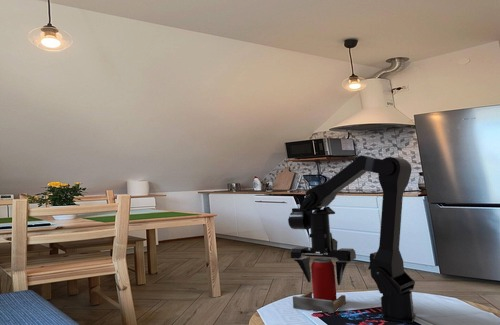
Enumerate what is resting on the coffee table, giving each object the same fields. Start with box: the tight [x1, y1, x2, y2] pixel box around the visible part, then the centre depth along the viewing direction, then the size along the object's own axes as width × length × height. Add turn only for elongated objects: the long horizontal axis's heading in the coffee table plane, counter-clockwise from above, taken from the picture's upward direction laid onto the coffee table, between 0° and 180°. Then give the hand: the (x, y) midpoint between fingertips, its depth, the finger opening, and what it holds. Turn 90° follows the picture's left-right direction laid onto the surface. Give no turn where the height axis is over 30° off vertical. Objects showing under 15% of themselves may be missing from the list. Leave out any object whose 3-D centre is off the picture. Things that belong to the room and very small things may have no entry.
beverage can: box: [310, 257, 338, 301], centre depth 98 cm, size 7×7×12 cm
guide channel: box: [292, 291, 347, 314], centre depth 94 cm, size 11×11×3 cm
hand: (324, 283), depth 97 cm, fingers open, 9 cm apart
